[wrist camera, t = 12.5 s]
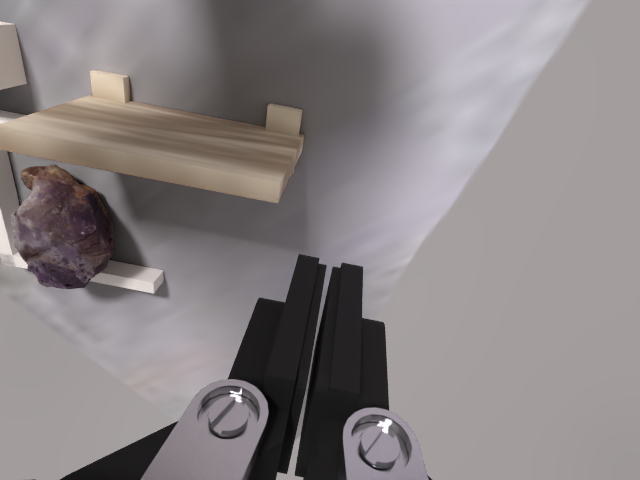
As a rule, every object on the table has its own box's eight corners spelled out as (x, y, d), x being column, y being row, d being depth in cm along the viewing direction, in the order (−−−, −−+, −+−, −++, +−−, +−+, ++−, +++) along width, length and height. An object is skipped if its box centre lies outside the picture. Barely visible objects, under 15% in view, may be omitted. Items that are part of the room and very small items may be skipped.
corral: (-18, 106, 40) (-40, 112, 38) (158, 140, 40) (146, 148, 38) (18, 252, 49) (2, 263, 46) (163, 280, 48) (154, 293, 46)
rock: (64, 241, 49) (146, 255, 48) (12, 293, 42) (106, 310, 42) (30, 152, 41) (125, 167, 41) (-41, 197, 35) (72, 217, 34)
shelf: (91, 68, 37) (-17, 93, 27) (308, 110, 37) (284, 151, 27) (98, 133, 40) (3, 178, 30) (299, 172, 40) (274, 230, 30)
